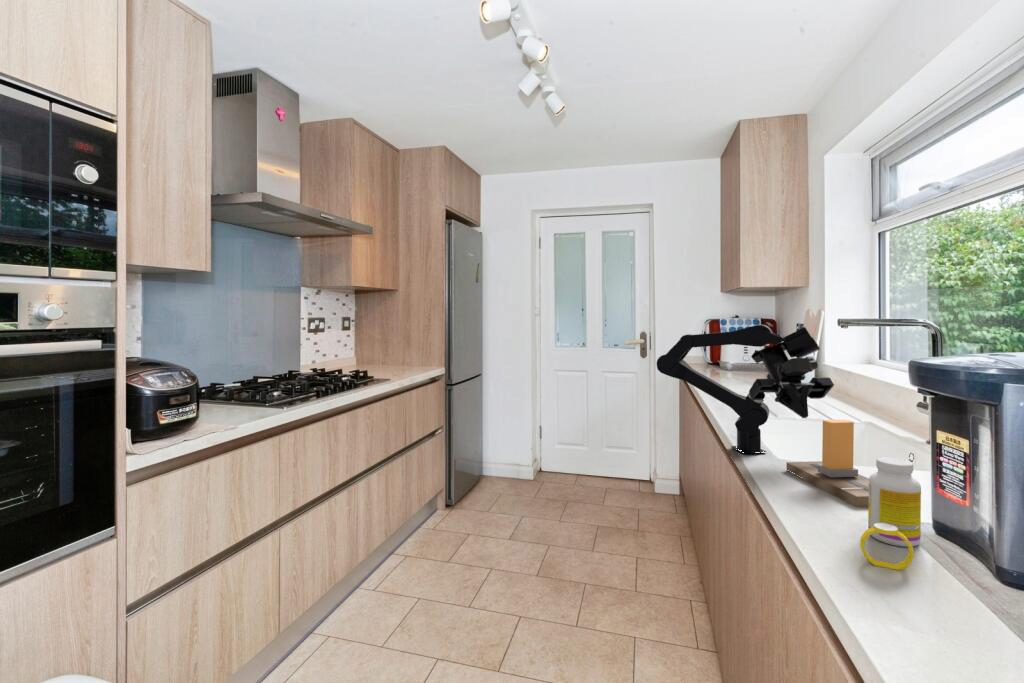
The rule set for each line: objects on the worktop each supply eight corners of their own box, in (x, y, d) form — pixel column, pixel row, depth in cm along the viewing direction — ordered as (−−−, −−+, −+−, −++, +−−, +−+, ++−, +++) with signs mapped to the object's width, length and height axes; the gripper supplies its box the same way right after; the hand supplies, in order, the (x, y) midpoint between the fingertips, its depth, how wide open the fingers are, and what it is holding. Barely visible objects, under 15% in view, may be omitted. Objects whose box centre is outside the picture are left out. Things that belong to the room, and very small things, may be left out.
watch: (863, 567, 69) (860, 527, 69) (860, 559, 72) (857, 520, 72) (916, 575, 66) (912, 532, 66) (911, 566, 69) (908, 525, 69)
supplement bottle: (931, 548, 74) (933, 467, 73) (888, 548, 74) (889, 467, 74) (897, 529, 81) (899, 455, 80) (858, 530, 81) (859, 455, 80)
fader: (817, 471, 104) (818, 419, 104) (844, 470, 105) (844, 419, 104) (830, 477, 100) (830, 423, 100) (858, 476, 101) (858, 422, 100)
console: (786, 470, 112) (786, 461, 112) (827, 469, 113) (827, 460, 113) (856, 506, 90) (857, 496, 90) (907, 505, 91) (908, 494, 91)
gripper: (755, 346, 117) (782, 398, 106) (829, 344, 118) (863, 396, 107) (738, 374, 125) (762, 425, 115) (808, 373, 126) (837, 423, 115)
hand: (805, 417), depth 113 cm, fingers closed
